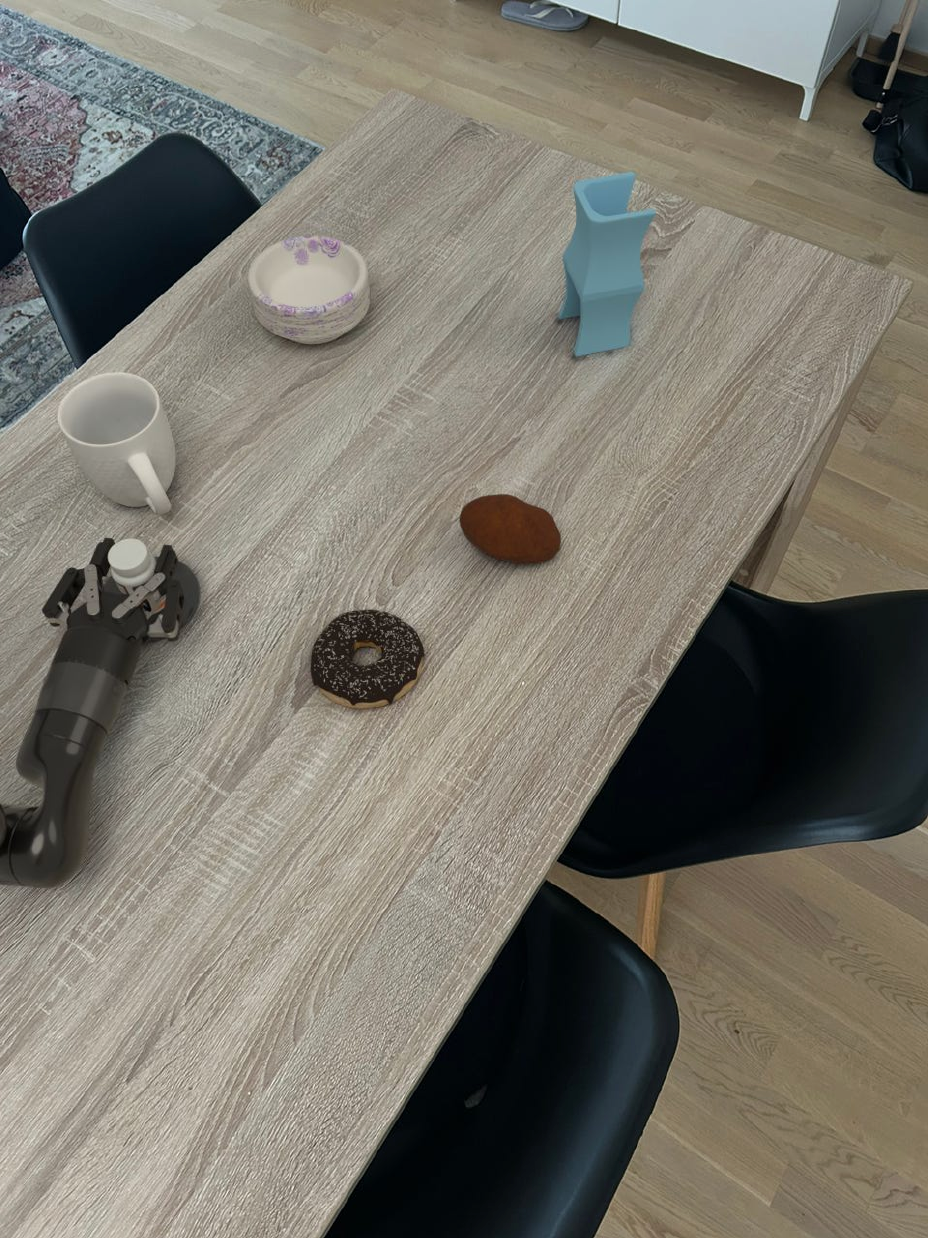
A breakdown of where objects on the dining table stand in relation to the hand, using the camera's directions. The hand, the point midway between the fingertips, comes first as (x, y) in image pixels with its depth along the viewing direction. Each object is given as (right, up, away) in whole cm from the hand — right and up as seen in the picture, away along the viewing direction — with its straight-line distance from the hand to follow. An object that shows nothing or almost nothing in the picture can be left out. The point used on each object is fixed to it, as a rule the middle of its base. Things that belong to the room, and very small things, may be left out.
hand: (140, 546), depth 110 cm
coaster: (0, -6, +4) cm, 7 cm away
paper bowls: (+14, +32, +28) cm, 45 cm away
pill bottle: (0, -6, +4) cm, 7 cm away
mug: (-3, +7, +13) cm, 15 cm away
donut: (+24, -13, 0) cm, 27 cm away
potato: (+39, 0, +8) cm, 40 cm away
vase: (+51, +30, +27) cm, 65 cm away
